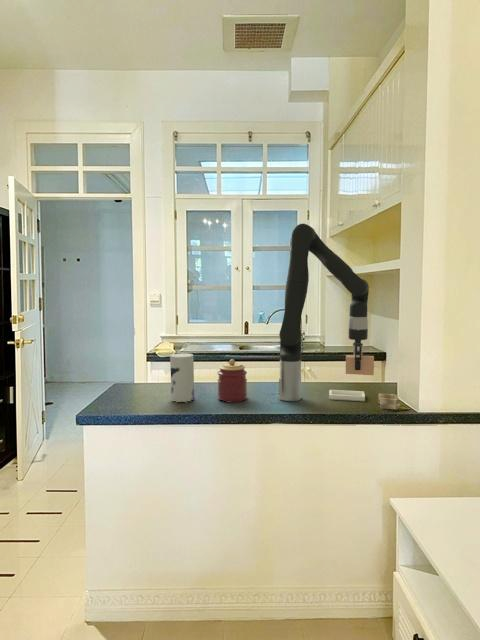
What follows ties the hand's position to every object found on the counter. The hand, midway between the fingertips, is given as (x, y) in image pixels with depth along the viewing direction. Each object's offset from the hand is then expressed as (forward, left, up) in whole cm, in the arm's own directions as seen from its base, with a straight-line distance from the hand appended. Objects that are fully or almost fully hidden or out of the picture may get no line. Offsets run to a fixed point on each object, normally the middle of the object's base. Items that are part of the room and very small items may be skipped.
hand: (357, 368), depth 177 cm
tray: (-4, +10, -15) cm, 19 cm away
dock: (+12, 0, -15) cm, 20 cm away
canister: (-53, -1, -16) cm, 55 cm away
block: (+1, 0, -2) cm, 2 cm away
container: (-74, -7, -16) cm, 76 cm away
